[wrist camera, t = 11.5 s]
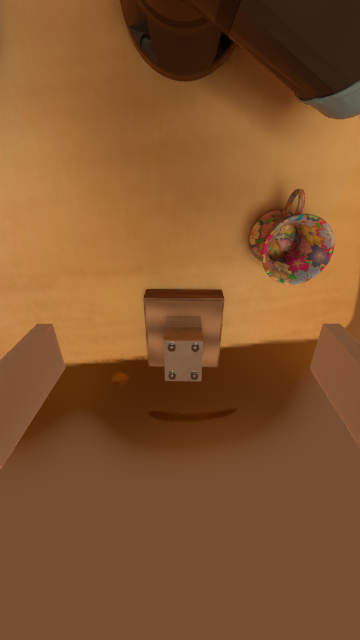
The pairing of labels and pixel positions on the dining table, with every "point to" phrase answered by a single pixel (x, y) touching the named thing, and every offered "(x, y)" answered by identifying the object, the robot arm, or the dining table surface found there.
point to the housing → (183, 348)
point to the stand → (183, 304)
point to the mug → (292, 243)
